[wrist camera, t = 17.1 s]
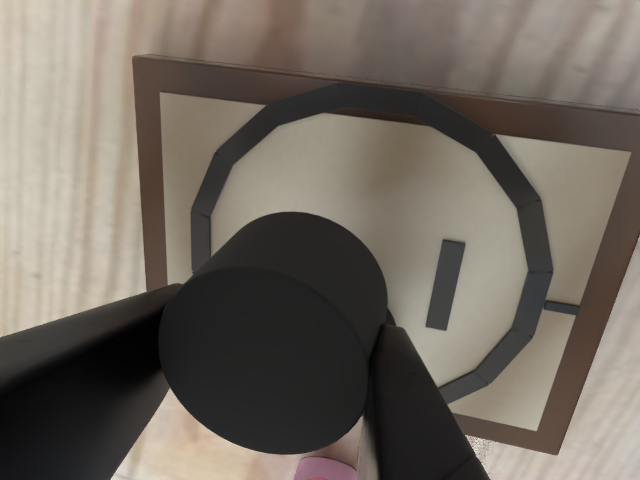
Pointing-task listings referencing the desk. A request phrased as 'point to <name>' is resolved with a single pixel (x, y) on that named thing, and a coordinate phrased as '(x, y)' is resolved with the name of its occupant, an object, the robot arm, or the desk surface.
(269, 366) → the black short cylinder
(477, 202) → the board
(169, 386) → the robot arm
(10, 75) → the desk surface
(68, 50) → the desk surface
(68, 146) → the desk surface
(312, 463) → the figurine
